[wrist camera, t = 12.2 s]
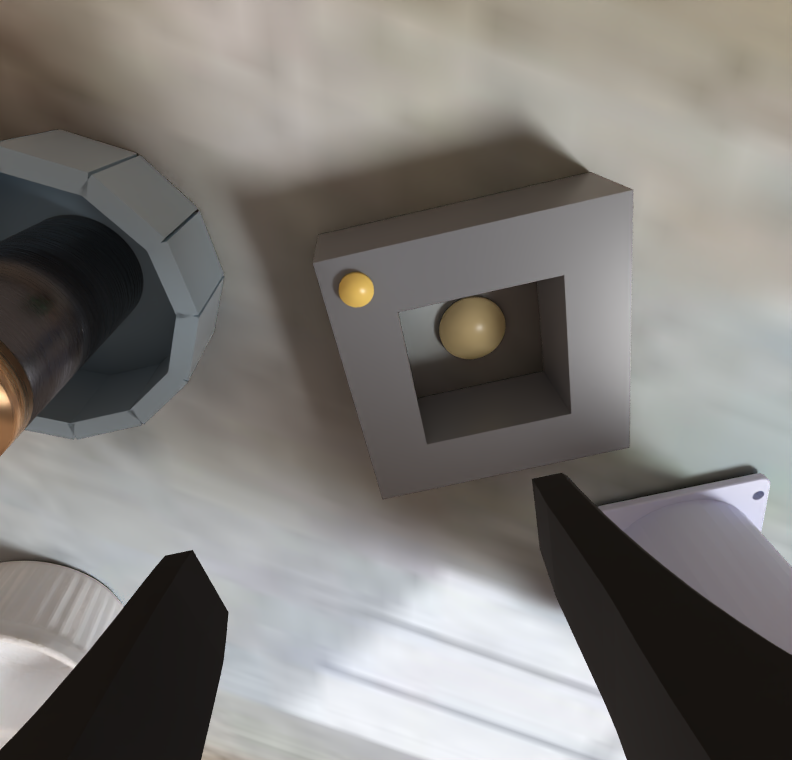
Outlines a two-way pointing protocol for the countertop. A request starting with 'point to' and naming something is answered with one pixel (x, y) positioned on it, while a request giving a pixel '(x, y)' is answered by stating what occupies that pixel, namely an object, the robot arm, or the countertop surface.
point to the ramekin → (44, 633)
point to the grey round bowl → (160, 262)
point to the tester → (488, 329)
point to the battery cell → (57, 309)
